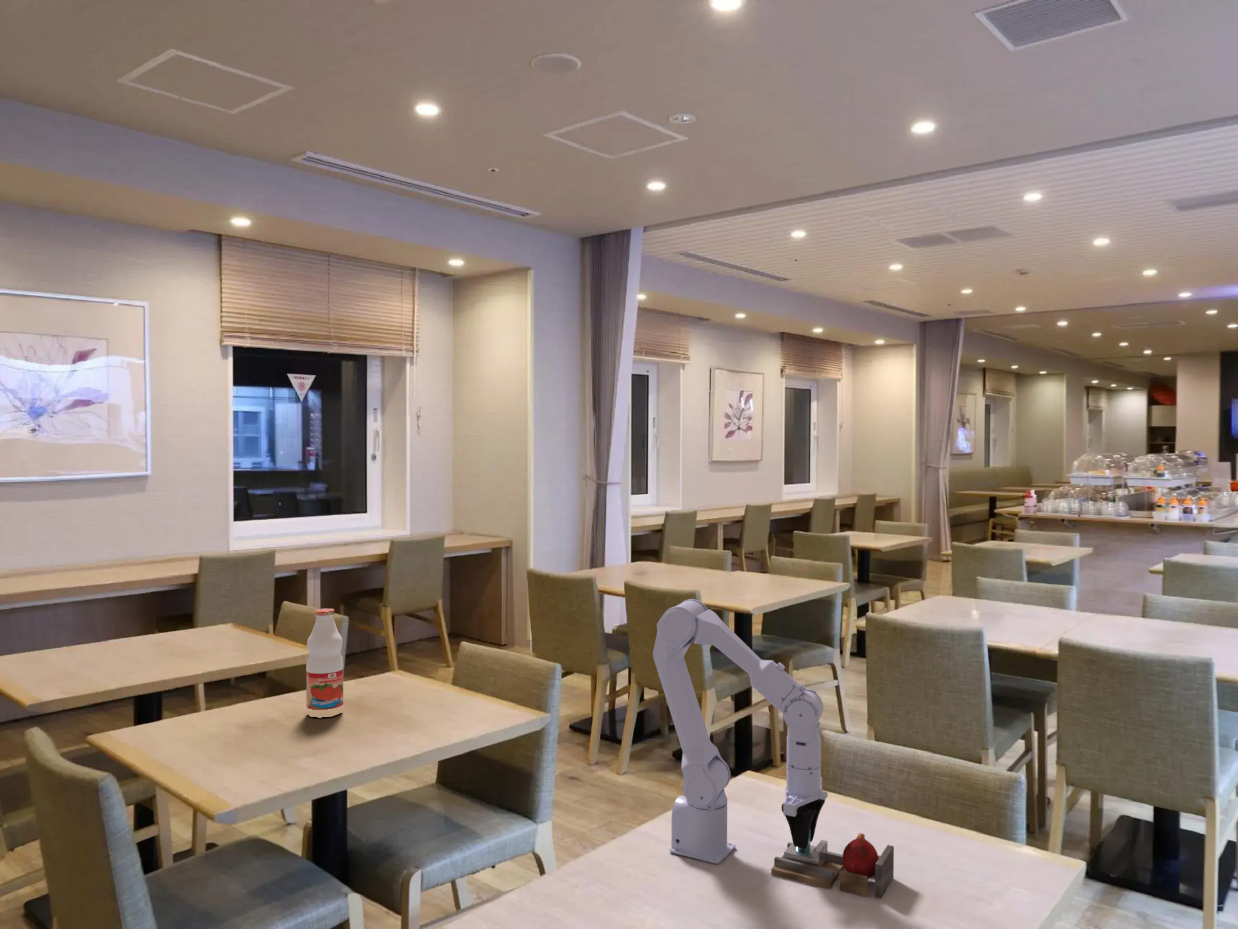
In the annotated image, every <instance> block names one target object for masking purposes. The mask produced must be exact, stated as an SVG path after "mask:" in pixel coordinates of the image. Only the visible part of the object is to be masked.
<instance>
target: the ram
mask: <svg viewBox="0 0 1238 929" xmlns="http://www.w3.org/2000/svg"><path fill="white" fill-rule="evenodd" d="M791 843H792V844H791V845H790V846H789V847H788V848H787V847H786V849H785V850H784V852H783V855H784V859H788V860H793V861H797V862H801V863H805V864H809V865H813V866H818V867H822V866H823V865H824V863H825V862H826V861H827V851H828V840H825V839H821V840H820V842H819V843H818V844H817V845H815V846H814V845H811V842H810V833H809V841H808V845H807V848H806V849H804V848H799V847H795V846H794V844H793V842H791Z"/></svg>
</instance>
